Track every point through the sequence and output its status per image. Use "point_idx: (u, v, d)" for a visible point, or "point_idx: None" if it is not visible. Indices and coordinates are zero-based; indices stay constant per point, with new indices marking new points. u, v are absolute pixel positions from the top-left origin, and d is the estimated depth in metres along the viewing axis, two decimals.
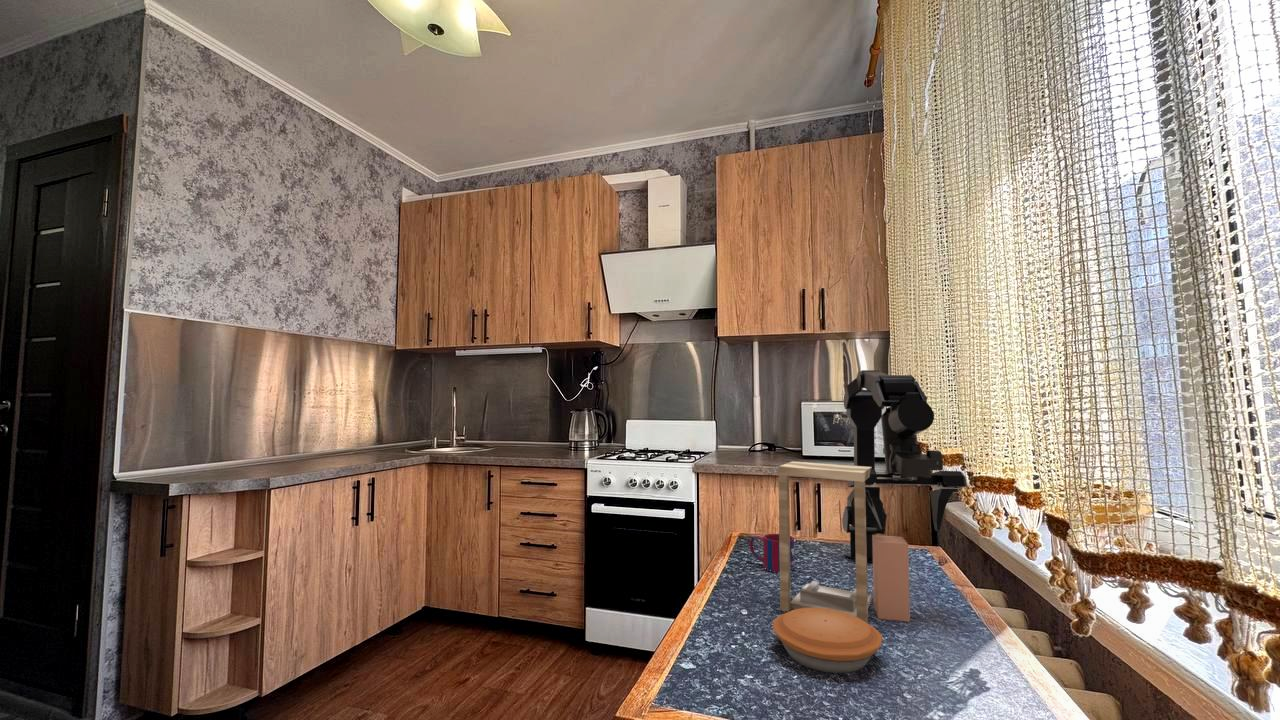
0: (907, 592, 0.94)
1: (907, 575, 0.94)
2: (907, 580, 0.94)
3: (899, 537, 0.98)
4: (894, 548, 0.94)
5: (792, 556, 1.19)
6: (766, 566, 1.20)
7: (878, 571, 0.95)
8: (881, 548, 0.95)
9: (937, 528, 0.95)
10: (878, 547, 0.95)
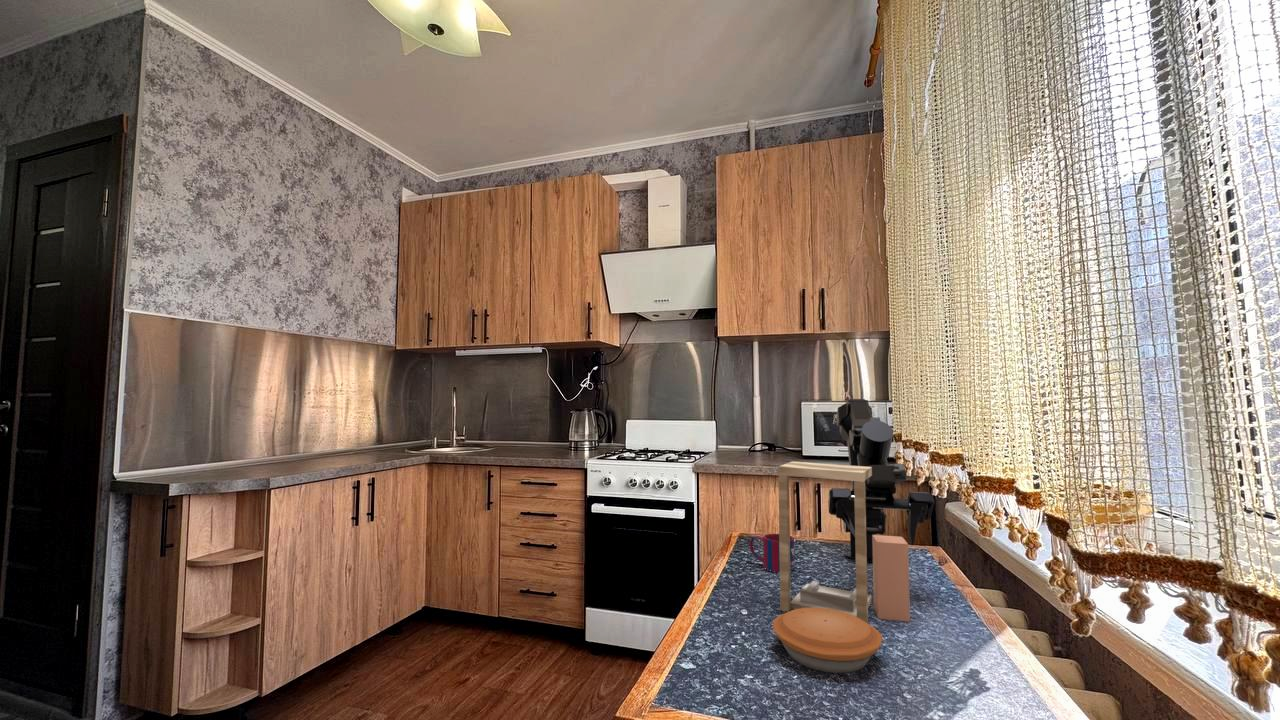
0: (907, 592, 0.94)
1: (907, 575, 0.94)
2: (907, 580, 0.94)
3: (899, 537, 0.98)
4: (894, 548, 0.94)
5: (792, 556, 1.19)
6: (766, 566, 1.20)
7: (878, 571, 0.95)
8: (881, 548, 0.95)
9: (912, 541, 1.00)
10: (878, 547, 0.95)
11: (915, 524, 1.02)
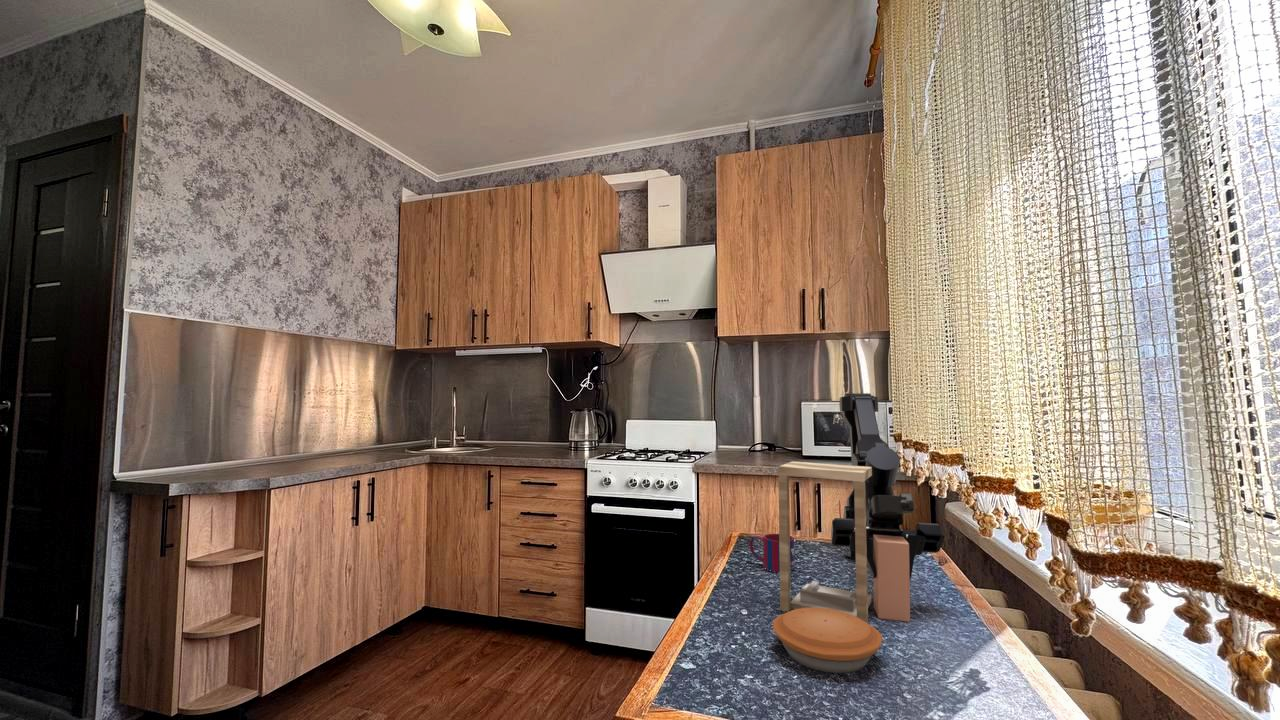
0: (907, 592, 0.94)
1: (908, 575, 0.94)
2: (907, 580, 0.94)
3: (900, 537, 0.98)
4: (895, 548, 0.94)
5: (792, 556, 1.19)
6: (766, 566, 1.20)
7: (879, 571, 0.95)
8: (881, 547, 0.95)
9: None
10: (879, 547, 0.95)
11: (912, 558, 0.96)
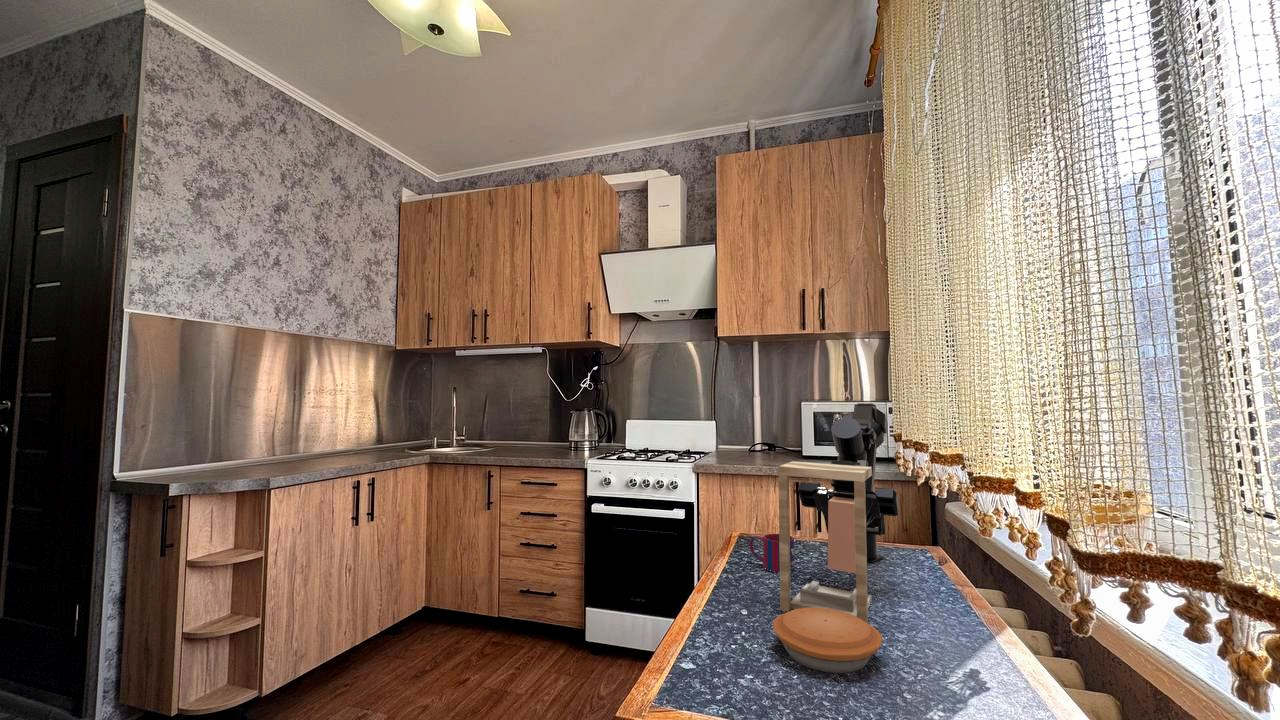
0: (853, 547, 1.04)
1: (854, 532, 1.04)
2: (853, 536, 1.04)
3: None
4: (843, 507, 1.05)
5: (792, 556, 1.19)
6: (766, 566, 1.20)
7: (829, 527, 1.06)
8: (831, 506, 1.06)
9: None
10: (829, 505, 1.06)
11: None
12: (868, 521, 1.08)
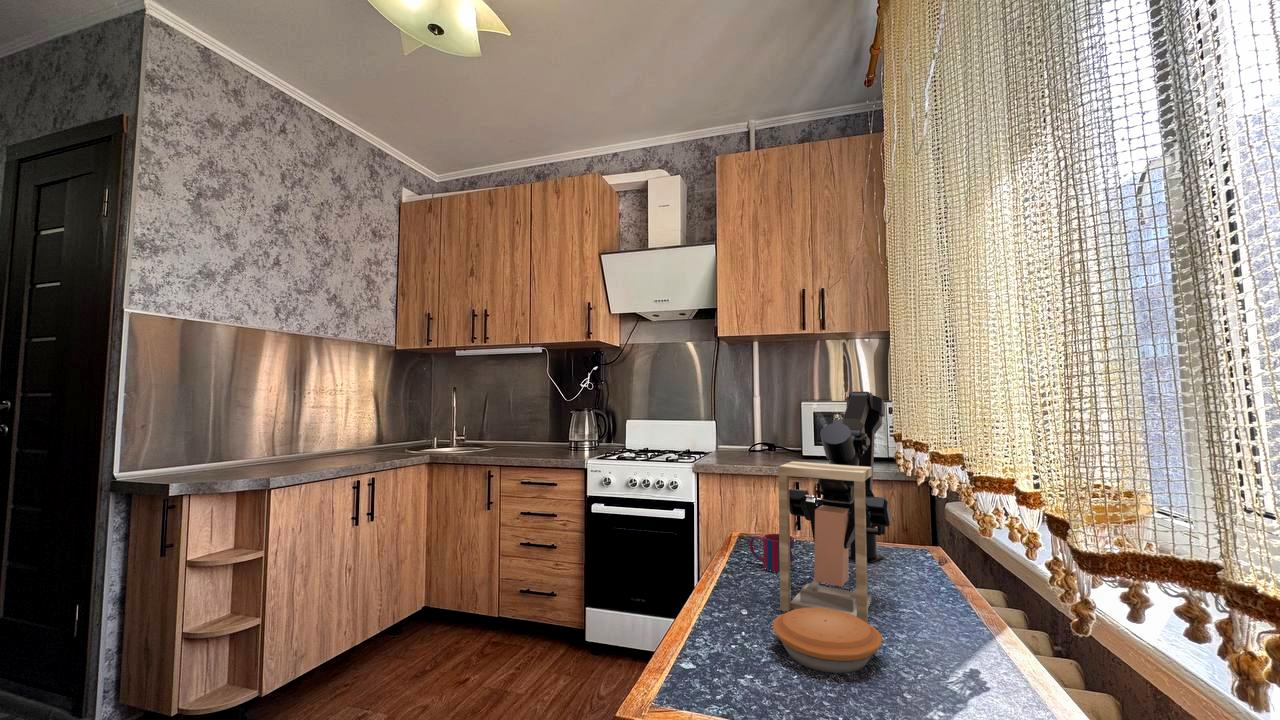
0: (840, 559, 0.99)
1: (841, 543, 0.99)
2: (840, 548, 0.99)
3: (845, 508, 1.03)
4: (830, 517, 1.00)
5: (792, 556, 1.19)
6: (766, 566, 1.20)
7: (815, 537, 1.01)
8: (818, 515, 1.01)
9: (844, 544, 0.99)
10: (816, 514, 1.01)
11: (852, 528, 1.00)
12: None
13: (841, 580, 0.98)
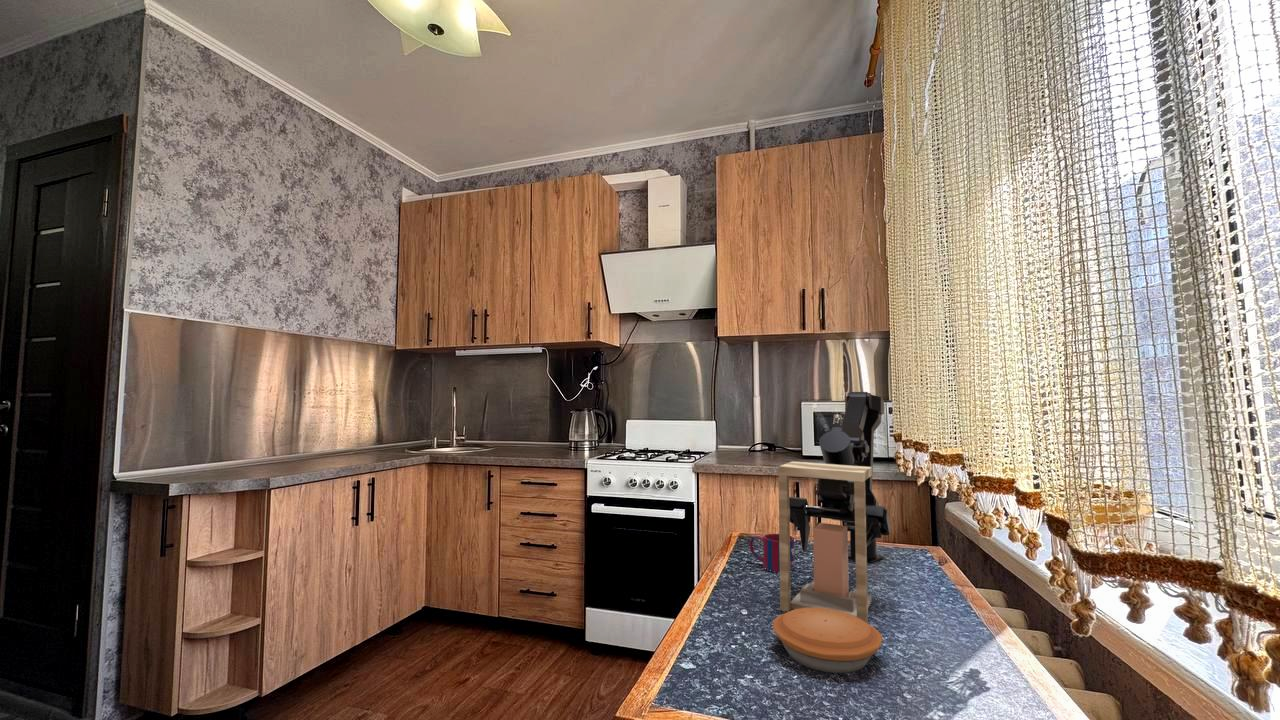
0: (840, 578, 0.98)
1: (840, 561, 0.98)
2: (840, 566, 0.98)
3: (843, 526, 1.02)
4: (829, 535, 0.99)
5: (792, 556, 1.19)
6: (766, 566, 1.20)
7: (814, 556, 1.00)
8: (816, 534, 1.00)
9: (854, 555, 0.98)
10: (814, 533, 1.00)
11: None
12: (868, 542, 1.00)
13: None
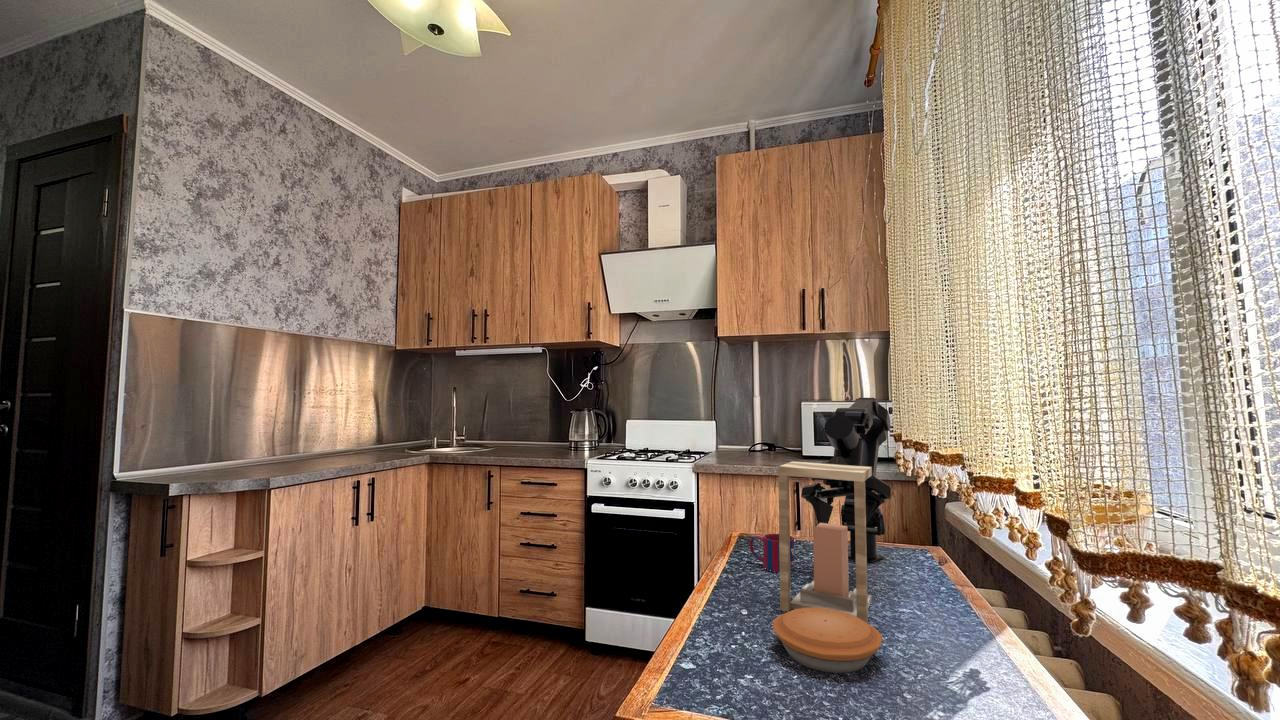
0: (840, 578, 0.98)
1: (840, 561, 0.98)
2: (840, 566, 0.98)
3: (843, 526, 1.02)
4: (829, 535, 0.99)
5: (792, 556, 1.19)
6: (766, 566, 1.20)
7: (814, 556, 1.00)
8: (816, 534, 1.00)
9: None
10: (814, 533, 1.00)
11: None
12: (871, 511, 1.08)
13: None
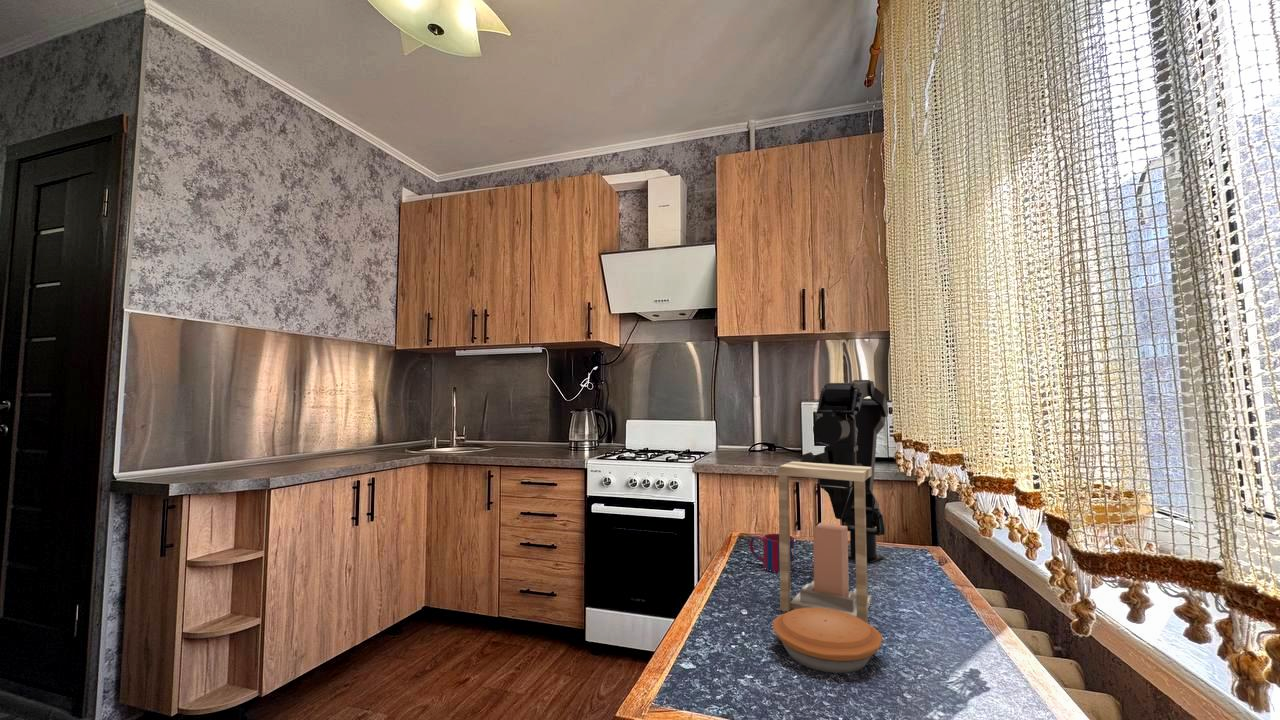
0: (840, 578, 0.98)
1: (840, 561, 0.98)
2: (840, 566, 0.98)
3: (843, 526, 1.02)
4: (829, 535, 0.99)
5: (792, 556, 1.19)
6: (766, 566, 1.20)
7: (814, 556, 1.00)
8: (816, 534, 1.00)
9: None
10: (814, 533, 1.00)
11: None
12: (843, 499, 1.11)
13: None
